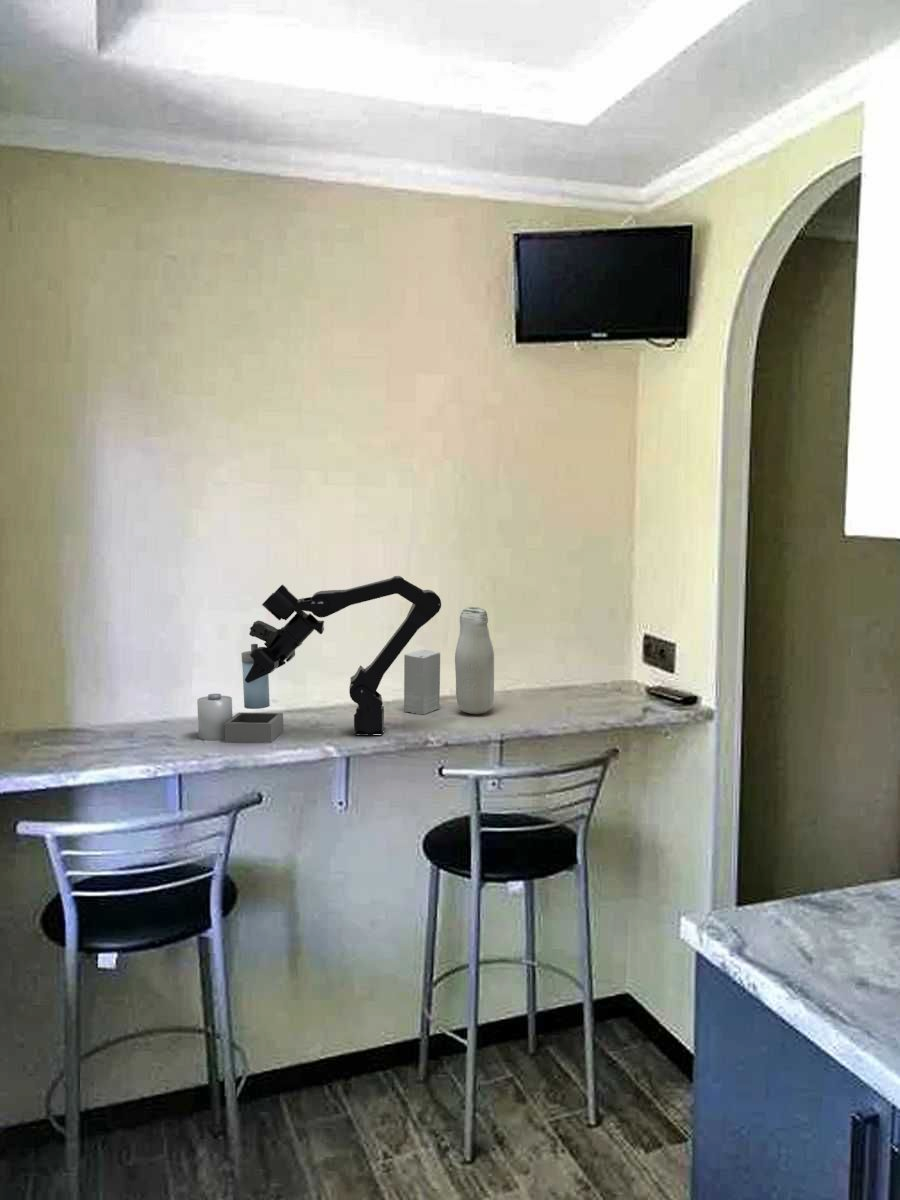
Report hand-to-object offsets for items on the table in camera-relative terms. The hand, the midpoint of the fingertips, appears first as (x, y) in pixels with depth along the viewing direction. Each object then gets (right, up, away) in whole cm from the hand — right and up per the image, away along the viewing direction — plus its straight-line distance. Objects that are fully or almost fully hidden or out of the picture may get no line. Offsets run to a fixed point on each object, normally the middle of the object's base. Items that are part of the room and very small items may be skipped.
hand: (250, 678), depth 227 cm
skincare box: (+40, -11, +25) cm, 49 cm away
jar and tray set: (-2, -14, -1) cm, 14 cm away
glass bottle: (+54, -11, +22) cm, 59 cm away
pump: (+1, -7, +1) cm, 7 cm away
